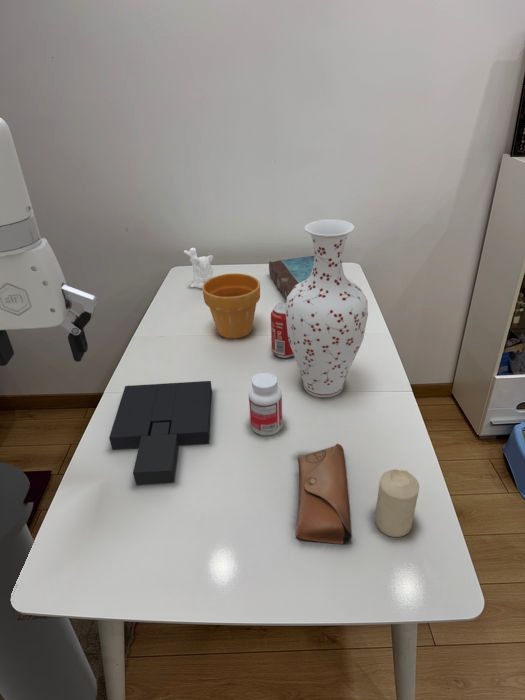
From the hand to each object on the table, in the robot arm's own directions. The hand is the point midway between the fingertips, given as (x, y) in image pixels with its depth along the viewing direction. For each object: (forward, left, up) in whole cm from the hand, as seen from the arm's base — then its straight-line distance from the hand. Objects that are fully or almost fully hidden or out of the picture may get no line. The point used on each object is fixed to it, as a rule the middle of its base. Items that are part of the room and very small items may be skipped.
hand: (44, 358), depth 65 cm
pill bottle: (+30, +16, -28) cm, 44 cm away
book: (+46, +78, -28) cm, 95 cm away
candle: (+48, -8, -28) cm, 56 cm away
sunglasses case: (+38, -2, -28) cm, 47 cm away
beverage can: (+36, +42, -28) cm, 62 cm away
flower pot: (+24, +54, -28) cm, 66 cm away
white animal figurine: (+14, +83, -28) cm, 89 cm away
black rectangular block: (+10, +9, -28) cm, 31 cm away
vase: (+43, +28, -28) cm, 59 cm away
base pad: (+10, +20, -28) cm, 36 cm away
